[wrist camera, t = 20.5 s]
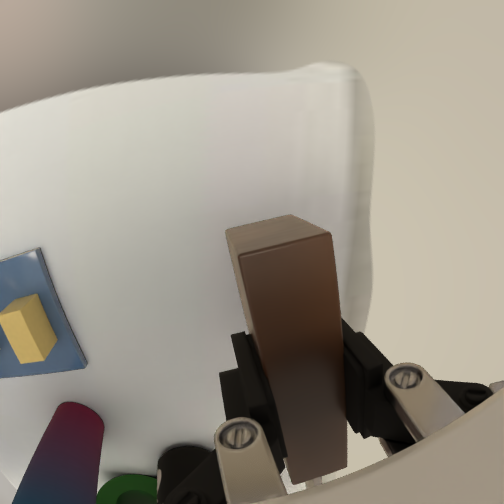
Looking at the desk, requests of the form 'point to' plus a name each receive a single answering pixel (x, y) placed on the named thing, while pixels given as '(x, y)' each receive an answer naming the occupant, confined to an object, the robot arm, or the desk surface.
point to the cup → (65, 459)
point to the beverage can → (177, 468)
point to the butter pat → (28, 329)
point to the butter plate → (38, 282)
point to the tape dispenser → (128, 490)
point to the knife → (296, 336)
